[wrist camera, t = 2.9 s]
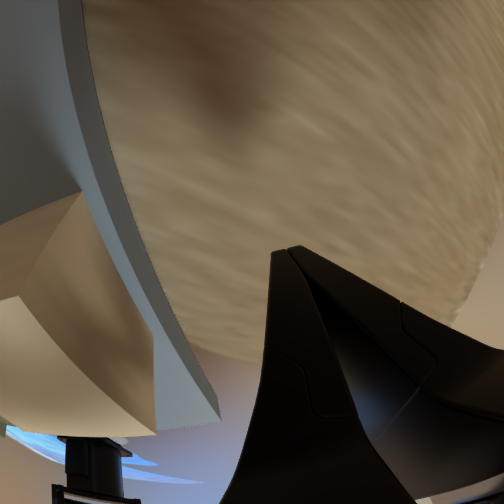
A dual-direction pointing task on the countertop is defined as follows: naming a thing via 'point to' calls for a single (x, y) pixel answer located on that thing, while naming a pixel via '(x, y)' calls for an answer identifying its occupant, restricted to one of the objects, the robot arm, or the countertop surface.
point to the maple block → (70, 330)
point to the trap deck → (83, 180)
